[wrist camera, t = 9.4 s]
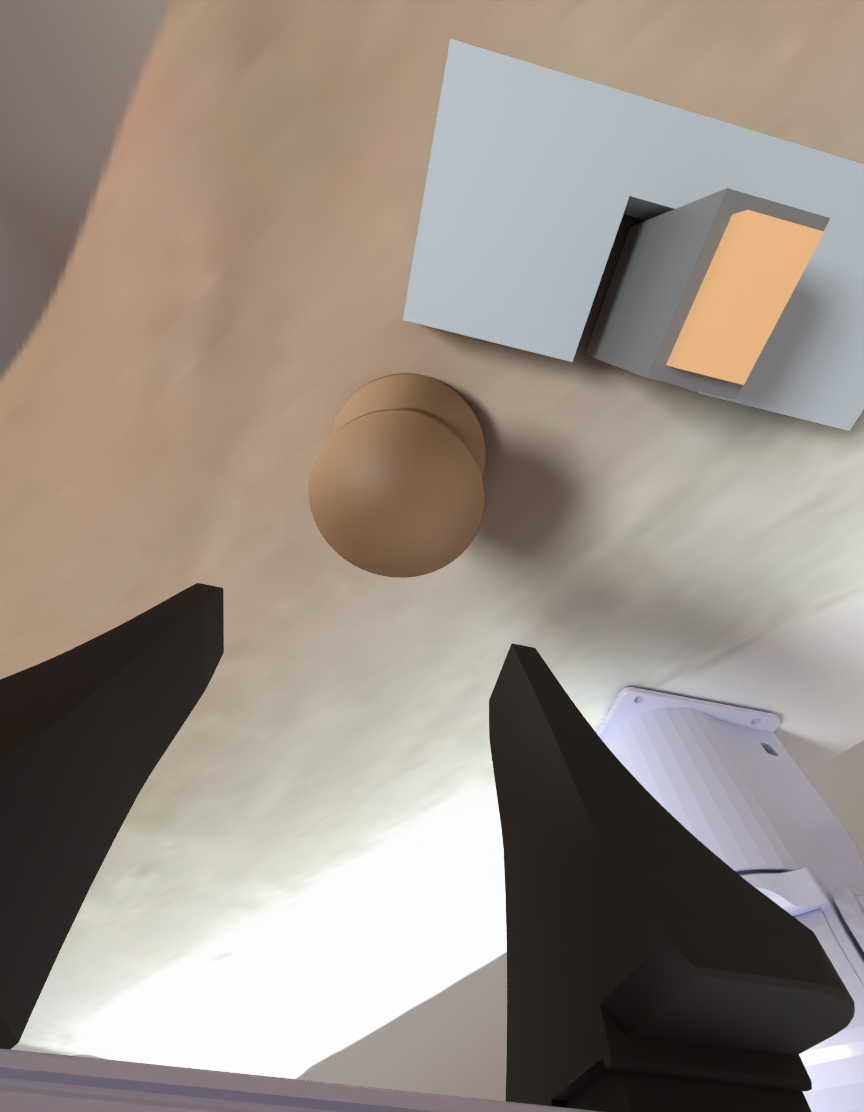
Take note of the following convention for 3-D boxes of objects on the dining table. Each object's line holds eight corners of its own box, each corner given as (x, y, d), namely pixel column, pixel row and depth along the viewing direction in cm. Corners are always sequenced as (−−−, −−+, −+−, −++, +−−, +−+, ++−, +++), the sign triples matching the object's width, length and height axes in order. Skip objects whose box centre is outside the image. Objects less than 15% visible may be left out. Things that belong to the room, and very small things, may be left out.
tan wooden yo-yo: (504, 394, 18) (524, 426, 13) (463, 537, 21) (468, 602, 16) (341, 355, 17) (305, 375, 13) (324, 507, 20) (290, 566, 16)
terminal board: (927, 218, 15) (1000, 205, 13) (806, 417, 18) (849, 431, 16) (449, 75, 14) (450, 38, 12) (407, 318, 17) (402, 319, 15)
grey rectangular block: (699, 246, 15) (851, 213, 10) (647, 370, 17) (748, 404, 12) (630, 226, 15) (743, 181, 9) (585, 354, 17) (655, 381, 11)
